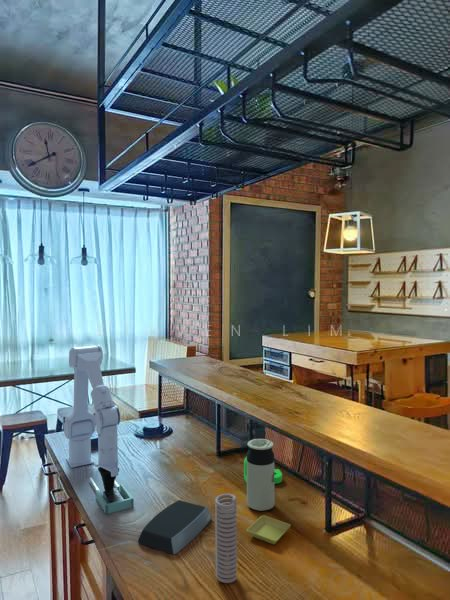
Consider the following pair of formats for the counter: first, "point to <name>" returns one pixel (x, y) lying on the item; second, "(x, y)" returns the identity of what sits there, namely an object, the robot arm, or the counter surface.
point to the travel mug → (260, 474)
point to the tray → (118, 505)
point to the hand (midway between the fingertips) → (108, 490)
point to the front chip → (114, 498)
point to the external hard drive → (175, 526)
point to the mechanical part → (276, 472)
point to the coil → (226, 538)
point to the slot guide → (97, 487)
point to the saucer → (268, 529)
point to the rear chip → (110, 493)
